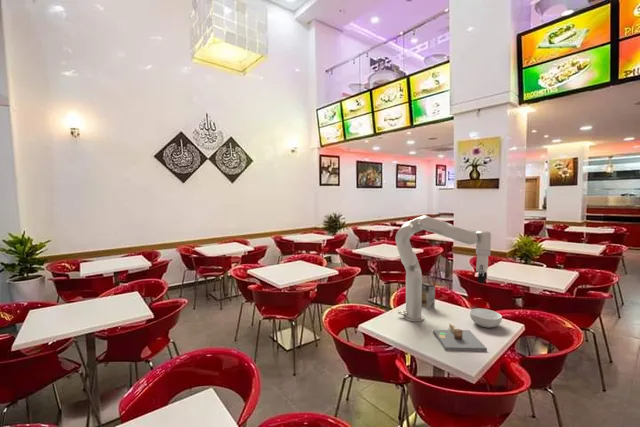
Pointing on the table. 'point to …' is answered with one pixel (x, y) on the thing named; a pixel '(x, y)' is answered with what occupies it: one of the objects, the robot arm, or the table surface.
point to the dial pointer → (456, 331)
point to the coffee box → (428, 295)
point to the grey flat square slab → (459, 341)
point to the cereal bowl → (485, 317)
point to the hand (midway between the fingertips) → (482, 280)
